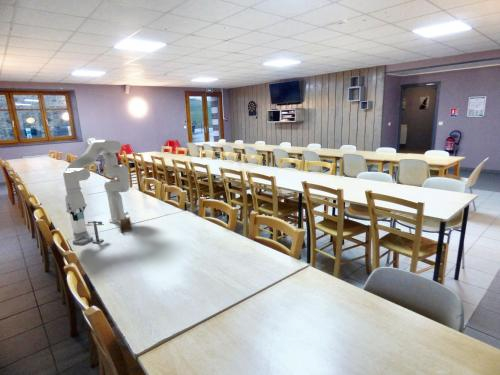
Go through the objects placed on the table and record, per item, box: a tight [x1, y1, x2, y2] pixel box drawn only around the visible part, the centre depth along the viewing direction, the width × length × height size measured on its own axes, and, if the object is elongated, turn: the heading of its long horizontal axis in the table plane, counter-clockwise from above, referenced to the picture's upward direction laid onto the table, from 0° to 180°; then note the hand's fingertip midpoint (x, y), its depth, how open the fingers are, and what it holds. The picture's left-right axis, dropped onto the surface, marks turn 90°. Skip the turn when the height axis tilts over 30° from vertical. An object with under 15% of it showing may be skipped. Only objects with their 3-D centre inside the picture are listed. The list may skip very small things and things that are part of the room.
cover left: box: [118, 217, 133, 234], centre depth 209 cm, size 7×7×7 cm
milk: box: [69, 209, 88, 235], centre depth 209 cm, size 6×6×22 cm
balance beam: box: [84, 220, 105, 227], centre depth 189 cm, size 4×13×2 cm, turn 161°
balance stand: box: [91, 223, 104, 244], centre depth 190 cm, size 5×4×12 cm
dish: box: [72, 236, 94, 246], centre depth 193 cm, size 8×8×2 cm
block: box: [76, 212, 85, 220], centre depth 189 cm, size 4×4×4 cm
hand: (78, 219), depth 189 cm, fingers closed on block, 4 cm apart
